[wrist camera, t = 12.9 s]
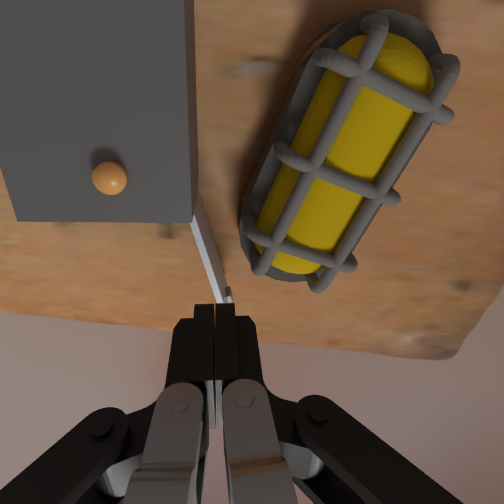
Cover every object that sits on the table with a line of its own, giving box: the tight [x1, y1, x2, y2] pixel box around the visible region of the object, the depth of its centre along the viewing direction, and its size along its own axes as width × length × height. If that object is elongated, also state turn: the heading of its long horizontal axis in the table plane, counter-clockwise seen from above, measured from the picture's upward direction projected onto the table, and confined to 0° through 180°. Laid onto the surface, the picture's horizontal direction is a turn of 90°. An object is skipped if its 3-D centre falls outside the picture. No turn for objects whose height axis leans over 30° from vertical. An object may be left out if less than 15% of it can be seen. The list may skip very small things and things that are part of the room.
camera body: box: [0, 0, 198, 223], centre depth 29 cm, size 18×17×13 cm
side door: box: [190, 190, 233, 303], centre depth 40 cm, size 1×14×7 cm, turn 12°
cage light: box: [238, 9, 460, 293], centre depth 37 cm, size 15×8×30 cm
